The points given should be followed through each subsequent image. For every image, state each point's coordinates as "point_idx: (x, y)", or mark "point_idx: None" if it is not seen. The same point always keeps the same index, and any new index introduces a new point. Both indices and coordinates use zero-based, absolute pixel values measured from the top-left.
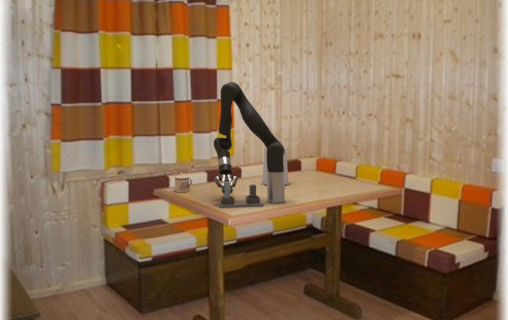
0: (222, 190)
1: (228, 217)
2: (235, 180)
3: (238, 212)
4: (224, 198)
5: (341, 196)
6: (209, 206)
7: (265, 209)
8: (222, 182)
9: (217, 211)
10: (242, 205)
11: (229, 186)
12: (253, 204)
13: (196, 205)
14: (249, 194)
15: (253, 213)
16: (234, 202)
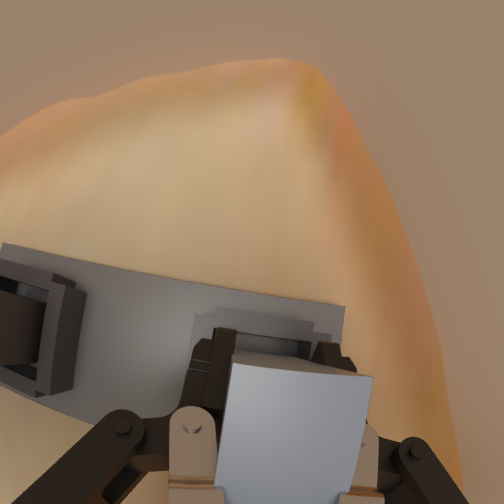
0: (350, 366)
1: (318, 71)
2: (72, 485)
3: (230, 138)
4: (296, 357)
5: None
6: (391, 385)
7: (41, 167)
8: (368, 485)
9: (365, 211)
10: (139, 273)
11: (249, 359)
12: (57, 255)
13: (453, 426)
14: (17, 355)
15: (151, 96)
16: (180, 377)
